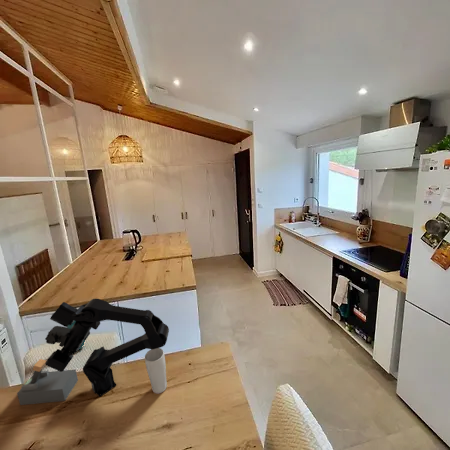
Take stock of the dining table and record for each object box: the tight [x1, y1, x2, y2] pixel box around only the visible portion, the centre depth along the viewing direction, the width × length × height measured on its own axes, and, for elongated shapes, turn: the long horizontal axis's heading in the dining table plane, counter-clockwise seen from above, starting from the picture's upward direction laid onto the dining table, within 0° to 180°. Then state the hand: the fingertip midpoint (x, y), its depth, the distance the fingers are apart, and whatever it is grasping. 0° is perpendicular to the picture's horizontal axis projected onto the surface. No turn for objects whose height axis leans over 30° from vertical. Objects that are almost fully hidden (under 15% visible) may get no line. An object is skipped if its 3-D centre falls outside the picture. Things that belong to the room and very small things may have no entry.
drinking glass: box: [144, 347, 168, 394], centre depth 90 cm, size 7×7×15 cm
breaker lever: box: [31, 358, 47, 384], centre depth 91 cm, size 2×3×8 cm
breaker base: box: [16, 368, 79, 406], centre depth 92 cm, size 16×9×6 cm, turn 93°
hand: (59, 363), depth 91 cm, fingers closed
